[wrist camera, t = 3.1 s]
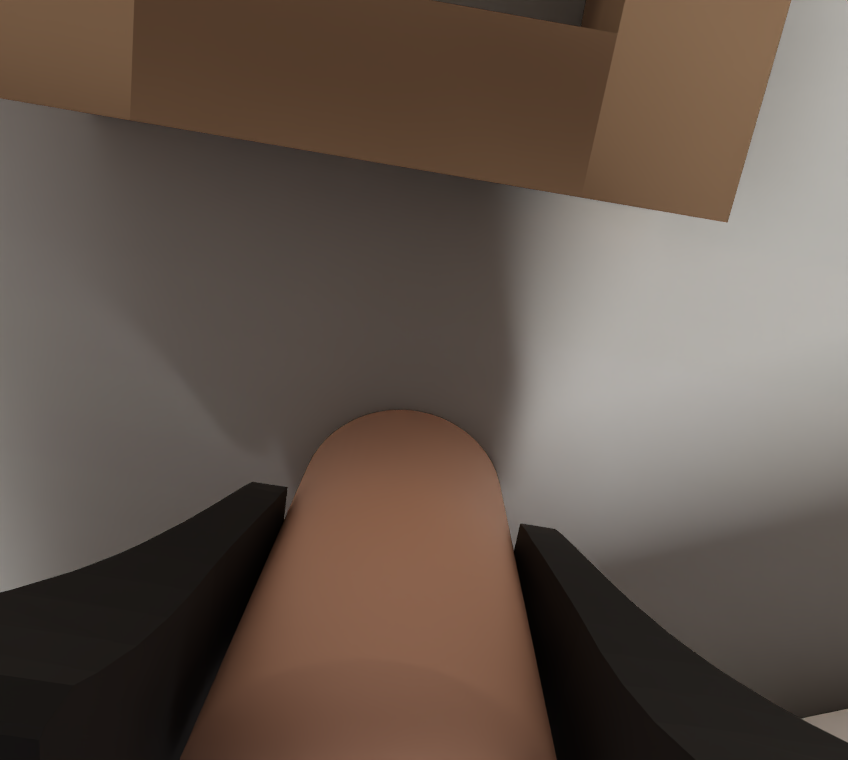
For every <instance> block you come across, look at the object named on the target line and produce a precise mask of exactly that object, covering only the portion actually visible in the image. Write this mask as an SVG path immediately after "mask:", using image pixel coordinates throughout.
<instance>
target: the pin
mask: <svg viewBox="0 0 848 760" xmlns="http://www.w3.org/2000/svg"><path fill="white" fill-rule="evenodd" d="M180 760H557V758H556V753H555V748H554V744H553V739H552V734H551V729H550V724H549V719H548V715H547V710H546V705H545V700H544V695H543V690H542V686H541V681H540V676H539V671H538V666H537V661H536V657H535V652H534V647H533V642H532V637H531V632H530V628H529V623H528V618H527V613H526V608H525V603H524V599H523V594H522V589H521V584H520V579H519V574H518V570H517V565H516V560H515V555H514V550H513V545H512V541H511V536H510V531H509V526H508V521H507V516H506V512H505V507H504V502H503V497H502V492H501V487H500V483H499V480H498V476H497V473H496V471H495V469H494V466H493V464H492V462H491V460H490V459H489V457H488V456H487V454H486V453H485V451H484V450H483V449H482V447H481V446H480V445H479V444H478V443H477V442H476V441H475V440H474V439H473V438H472V437H471V436H470V435H469V434H468V433H466V432H465V431H464V430H462V429H461V428H459V427H458V426H456V425H455V424H453V423H451V422H449V421H447V420H445V419H443V418H440V417H437V416H434V415H432V414H428V413H423V412H419V411H411V410H387V411H381V412H375V413H372V414H368V415H365V416H362V417H359V418H357V419H355V420H352V421H350V422H349V423H347V424H345V425H344V426H342V427H340V428H339V429H338V430H336V431H335V432H334V433H333V434H331V435H330V436H329V437H328V438H327V439H326V440H325V441H324V442H323V443H322V444H321V445H320V447H319V448H318V450H317V451H316V452H315V454H314V455H313V457H312V459H311V461H310V463H309V465H308V467H307V469H306V471H305V473H304V476H303V478H302V480H301V483H300V485H299V487H298V489H297V492H296V494H295V496H294V499H293V501H292V503H291V506H290V508H289V510H288V512H287V515H286V517H285V519H284V522H283V524H282V526H281V528H280V531H279V533H278V535H277V538H276V540H275V542H274V544H273V547H272V549H271V551H270V554H269V556H268V558H267V560H266V563H265V565H264V567H263V570H262V572H261V574H260V576H259V579H258V581H257V583H256V586H255V588H254V590H253V593H252V595H251V597H250V599H249V602H248V604H247V606H246V609H245V611H244V613H243V615H242V618H241V620H240V622H239V625H238V627H237V629H236V631H235V634H234V636H233V638H232V641H231V643H230V645H229V647H228V650H227V652H226V654H225V657H224V659H223V661H222V663H221V666H220V668H219V670H218V673H217V675H216V677H215V680H214V682H213V684H212V686H211V689H210V691H209V693H208V696H207V698H206V700H205V702H204V705H203V707H202V709H201V712H200V714H199V716H198V718H197V721H196V723H195V725H194V728H193V730H192V732H191V734H190V737H189V739H188V741H187V744H186V746H185V748H184V751H183V753H182V755H181V757H180Z"/></svg>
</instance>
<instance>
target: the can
mask: <svg viewBox="0 0 848 760" xmlns="http://www.w3.org/2000/svg"><path fill="white" fill-rule="evenodd" d="M801 719H803V720H804V721H806V722H808V723H810V724H812V725H814V726H816V727H818V728H820V729H822V730H824V731H826V732H828V733H830V734H832V735H834V736H836V737H838V738H840V739H842V740H844V741H846V742H848V709H845V710H840V711H835V712H830V713H825V714H820V715H815V716H811V717H806V718H801Z"/></svg>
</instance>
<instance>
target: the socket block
mask: <svg viewBox="0 0 848 760" xmlns="http://www.w3.org/2000/svg"><path fill="white" fill-rule="evenodd" d="M790 3H791V0H586V3H585V8H584V13H583V18H582V22H581V27H578V26H573V25H567V24H562V23H556V22H551V21H545V20H539V19H534V18H528V17H523V16H517V15H511V14H506V13H500V12H495V11H489V10H483V9H478V8H472V7H467V6H461V5H456V4H450V3H444V2H439V1H433V0H0V98H3V99H8V100H14V101H20V102H26V103H32V104H38V105H44V106H49V107H55V108H61V109H67V110H73V111H79V112H85V113H90V114H96V115H102V116H108V117H114V118H120V119H125V120H131V121H137V122H143V123H149V124H155V125H161V126H166V127H172V128H178V129H184V130H190V131H196V132H201V133H207V134H213V135H219V136H225V137H231V138H237V139H242V140H248V141H254V142H260V143H266V144H272V145H278V146H283V147H289V148H295V149H301V150H307V151H313V152H318V153H324V154H330V155H336V156H342V157H348V158H354V159H359V160H365V161H371V162H377V163H383V164H389V165H395V166H400V167H406V168H412V169H418V170H424V171H430V172H435V173H441V174H447V175H453V176H459V177H465V178H471V179H476V180H482V181H488V182H494V183H500V184H506V185H512V186H517V187H523V188H529V189H535V190H541V191H547V192H552V193H558V194H564V195H570V196H576V197H582V198H588V199H593V200H599V201H605V202H611V203H617V204H623V205H629V206H634V207H640V208H646V209H652V210H658V211H664V212H669V213H675V214H681V215H687V216H693V217H699V218H705V219H710V220H716V221H722V222H728V219H729V215H730V212H731V208H732V205H733V201H734V198H735V194H736V191H737V187H738V184H739V180H740V177H741V174H742V170H743V167H744V163H745V160H746V156H747V153H748V149H749V146H750V142H751V139H752V135H753V132H754V128H755V125H756V121H757V118H758V114H759V111H760V107H761V104H762V100H763V97H764V93H765V90H766V86H767V83H768V79H769V76H770V72H771V69H772V65H773V62H774V58H775V55H776V51H777V48H778V45H779V41H780V38H781V34H782V31H783V27H784V24H785V20H786V17H787V13H788V10H789V6H790Z"/></svg>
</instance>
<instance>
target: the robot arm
mask: <svg viewBox="0 0 848 760" xmlns="http://www.w3.org/2000/svg"><path fill="white" fill-rule="evenodd" d="M287 488H288V487H282V486H275V485H269V484H262V483H256V482H251V483H249V484H247V485H246V486H244V487H242V488H240V489H239V490H237V491H236V492H234V493H232V494H231V495H229V496H227V497H226V498H224V499H222V500H221V501H219V502H218V503H216V504H214V505H212V506H211V507H209V508H207V509H206V510H204V511H202V512H200V513H199V514H197V515H195V516H194V517H192V518H190V519H188V520H187V521H185V522H183V523H181V524H179V525H177V526H175V527H173V528H171V529H169V530H167V531H165V532H163V533H162V534H160V535H158V536H156V537H154V538H152V539H150V540H148V541H146V542H144V543H142V544H140V545H138V546H135V547H133V548H131V549H129V550H127V551H124V552H122V553H120V554H117V555H115V556H112V557H110V558H107V559H105V560H102V561H99V562H97V563H94V564H92V565H89V566H86V567H84V568H81V569H78V570H75V571H72V572H69V573H66V574H63V575H59V576H56V577H53V578H49V579H46V580H43V581H39V582H36V583H33V584H29V585H26V586H23V587H19V588H16V589H12V590H9V591H5V592H1V593H0V760H180V757H181V755H182V753H183V751H184V748H185V746H186V744H187V741H188V739H189V737H190V734H191V732H192V730H193V728H194V725H195V723H196V721H197V718H198V716H199V714H200V712H201V709H202V707H203V705H204V702H205V700H206V698H207V696H208V693H209V691H210V689H211V686H212V684H213V682H214V680H215V677H216V675H217V673H218V670H219V668H220V666H221V663H222V661H223V659H224V657H225V654H226V652H227V650H228V647H229V645H230V643H231V641H232V638H233V636H234V634H235V631H236V629H237V627H238V625H239V622H240V620H241V618H242V615H243V613H244V611H245V609H246V606H247V604H248V602H249V599H250V597H251V595H252V593H253V590H254V588H255V586H256V583H257V581H258V579H259V576H260V574H261V572H262V570H263V567H264V565H265V563H266V560H267V558H268V556H269V554H270V551H271V549H272V547H273V544H274V542H275V540H276V538H277V535H278V533H279V531H280V528H281V526H282V524H283V522H284V513H285V505H286V496H287ZM514 555H515V560H516V565H517V570H518V574H519V579H520V584H521V589H522V594H523V599H524V603H525V608H526V613H527V618H528V623H529V628H530V632H531V637H532V642H533V647H534V652H535V657H536V661H537V666H538V671H539V676H540V681H541V686H542V690H543V695H544V700H545V705H546V710H547V715H548V719H549V724H550V729H551V734H552V739H553V744H554V748H555V753H556V758H557V760H848V742H846V741H844V740H842V739H840V738H838V737H836V736H834V735H832V734H830V733H828V732H826V731H824V730H822V729H820V728H818V727H816V726H814V725H812V724H810V723H808V722H806V721H804V720H803V719H801V718H799V717H797V716H795V715H793V714H792V713H790V712H788V711H786V710H784V709H783V708H781V707H779V706H777V705H775V704H774V703H772V702H770V701H769V700H767V699H765V698H764V697H762V696H760V695H759V694H757V693H756V692H754V691H752V690H751V689H749V688H747V687H746V686H744V685H742V684H741V683H739V682H737V681H736V680H734V679H733V678H731V677H730V676H728V675H727V674H725V673H723V672H722V671H720V670H719V669H717V668H716V667H714V666H713V665H712V664H710V663H709V662H707V661H706V660H705V659H703V658H702V657H700V656H699V655H698V654H696V653H695V652H693V651H692V650H691V649H689V648H688V647H687V646H685V645H684V644H682V643H681V642H680V641H678V640H677V639H676V638H674V637H673V636H672V635H671V634H669V633H668V632H667V631H666V630H664V629H663V628H662V627H661V626H659V625H658V624H657V623H656V622H655V621H654V620H652V619H651V618H650V617H649V616H648V615H646V614H645V613H644V612H643V611H642V610H641V609H639V608H638V607H637V606H636V605H635V604H634V603H633V602H632V601H630V600H629V599H628V598H627V597H626V596H625V595H624V594H623V593H622V592H621V591H619V590H618V589H617V588H616V587H615V586H614V585H613V584H612V583H611V582H610V581H609V580H608V579H607V578H606V577H605V576H604V575H603V574H602V573H601V572H600V571H599V570H598V569H597V568H596V567H595V566H594V565H593V564H592V563H591V562H590V561H589V560H588V559H587V558H586V557H585V556H583V555H582V554H581V553H580V552H579V551H578V550H577V549H576V548H575V547H574V546H573V545H572V544H571V543H570V542H569V541H568V540H567V539H566V538H565V537H564V536H563V535H562V534H561V533H559V532H558V531H557V530H556V529H552V528H546V527H539V526H533V525H526V524H520V527H519V532H518V536H517V541H516V545H515V549H514Z"/></svg>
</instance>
